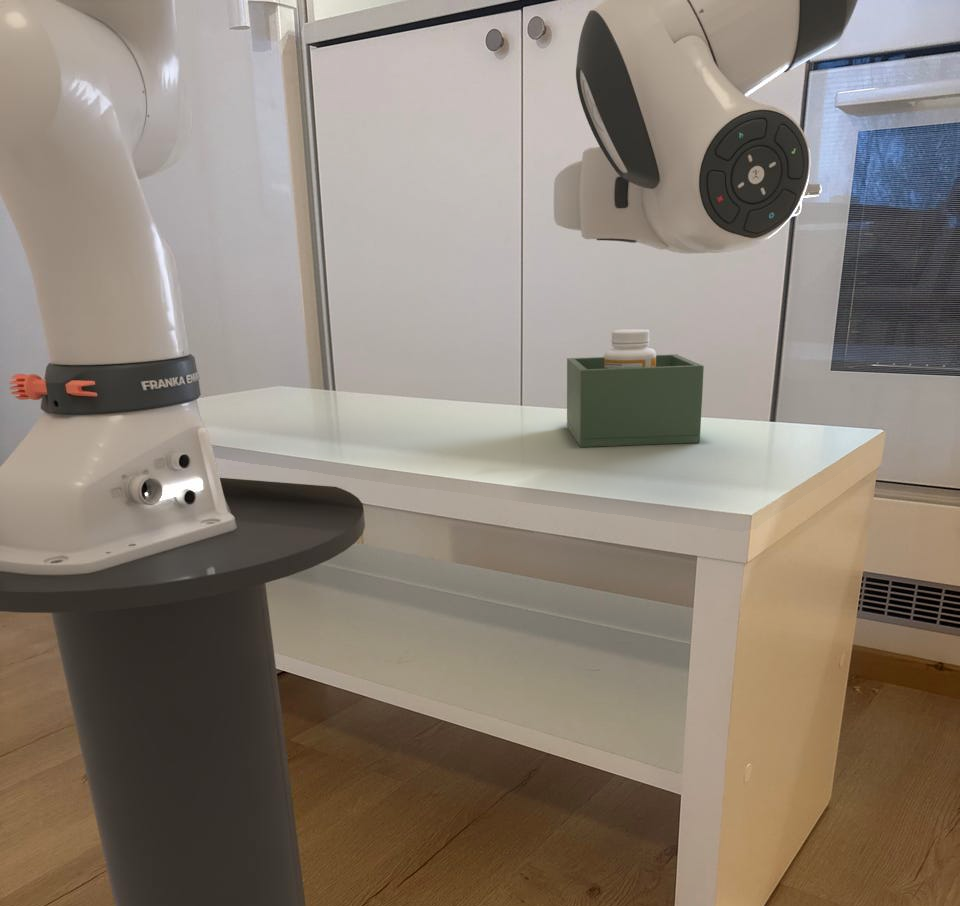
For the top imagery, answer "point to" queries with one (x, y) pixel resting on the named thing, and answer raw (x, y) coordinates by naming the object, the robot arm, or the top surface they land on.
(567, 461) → the top surface
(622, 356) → the supplement bottle
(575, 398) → the storage box
